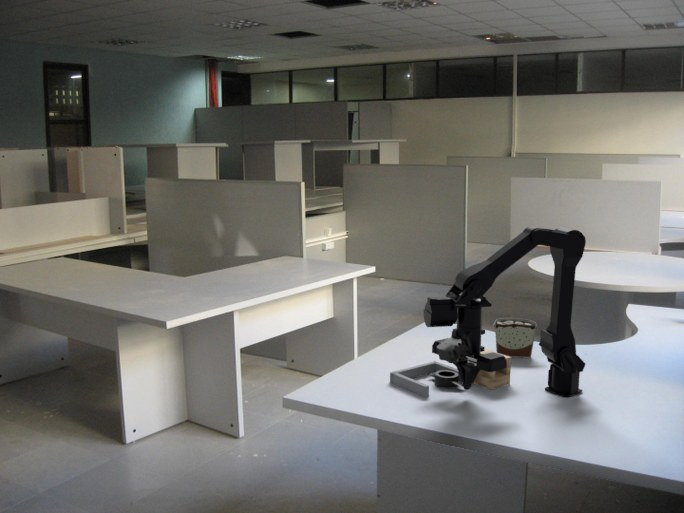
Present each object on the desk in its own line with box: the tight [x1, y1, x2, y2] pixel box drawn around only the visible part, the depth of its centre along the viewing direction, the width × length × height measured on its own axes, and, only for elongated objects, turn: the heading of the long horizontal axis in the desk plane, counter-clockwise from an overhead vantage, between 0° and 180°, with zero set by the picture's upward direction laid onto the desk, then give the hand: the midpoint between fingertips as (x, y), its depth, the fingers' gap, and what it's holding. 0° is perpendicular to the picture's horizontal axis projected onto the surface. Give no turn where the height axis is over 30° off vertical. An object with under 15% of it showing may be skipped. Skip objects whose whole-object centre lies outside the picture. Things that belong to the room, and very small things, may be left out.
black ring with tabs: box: [427, 370, 463, 389], centre depth 173 cm, size 8×10×3 cm
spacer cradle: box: [389, 360, 462, 398], centre depth 174 cm, size 13×16×2 cm
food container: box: [492, 317, 539, 359], centre depth 198 cm, size 12×6×10 cm, turn 84°
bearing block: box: [473, 348, 512, 391], centre depth 174 cm, size 8×7×7 cm
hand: (466, 389), depth 164 cm, fingers closed
